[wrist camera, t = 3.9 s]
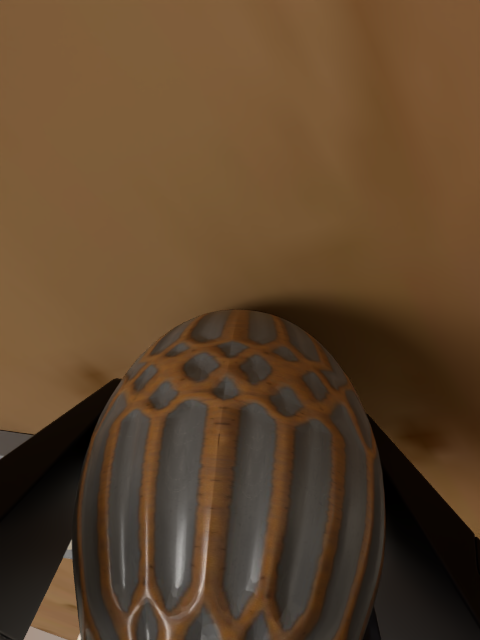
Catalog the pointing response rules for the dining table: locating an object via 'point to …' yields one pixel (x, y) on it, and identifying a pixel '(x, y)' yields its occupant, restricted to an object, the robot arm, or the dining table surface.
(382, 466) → the robot arm
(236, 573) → the vase
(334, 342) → the dining table surface
